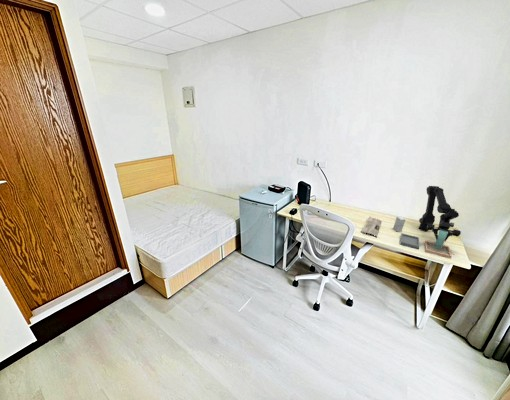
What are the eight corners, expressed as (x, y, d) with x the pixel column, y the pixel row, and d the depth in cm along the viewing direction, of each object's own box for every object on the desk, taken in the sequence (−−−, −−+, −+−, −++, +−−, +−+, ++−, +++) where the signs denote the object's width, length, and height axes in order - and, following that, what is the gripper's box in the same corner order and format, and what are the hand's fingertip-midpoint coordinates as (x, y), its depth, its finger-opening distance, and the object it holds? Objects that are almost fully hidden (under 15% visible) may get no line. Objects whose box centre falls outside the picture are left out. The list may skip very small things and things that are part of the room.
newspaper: (376, 238, 179) (377, 234, 177) (360, 233, 185) (361, 230, 184) (381, 222, 206) (382, 218, 204) (367, 218, 212) (368, 215, 211)
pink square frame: (424, 242, 171) (425, 240, 170) (448, 248, 163) (448, 246, 162) (425, 251, 160) (426, 249, 159) (450, 258, 152) (451, 256, 151)
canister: (432, 246, 161) (438, 230, 156) (435, 244, 163) (441, 228, 158) (439, 249, 158) (446, 232, 152) (442, 247, 160) (449, 231, 154)
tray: (400, 235, 181) (401, 233, 180) (418, 240, 175) (418, 237, 174) (399, 244, 169) (400, 241, 168) (418, 249, 162) (419, 246, 162)
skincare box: (392, 228, 193) (396, 216, 188) (397, 228, 193) (401, 216, 188) (397, 232, 187) (400, 219, 183) (402, 232, 187) (405, 219, 183)
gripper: (431, 214, 160) (427, 232, 156) (465, 220, 150) (461, 241, 145) (428, 219, 169) (424, 237, 165) (459, 226, 158) (456, 245, 154)
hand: (440, 240), depth 157 cm, fingers closed on canister, 4 cm apart
